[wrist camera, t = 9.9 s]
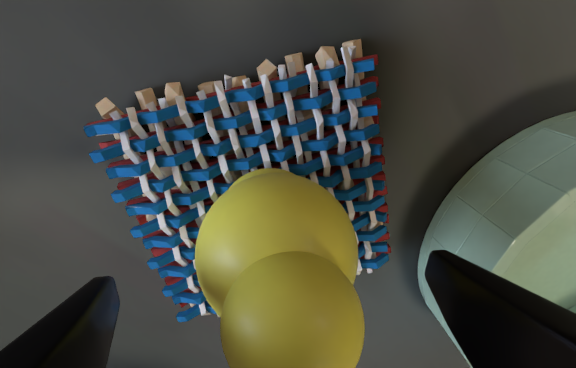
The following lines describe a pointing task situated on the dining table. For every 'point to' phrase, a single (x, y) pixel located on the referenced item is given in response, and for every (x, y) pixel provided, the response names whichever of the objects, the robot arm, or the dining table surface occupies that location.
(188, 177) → the woven mat
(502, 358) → the robot arm
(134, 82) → the dining table surface
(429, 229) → the pan
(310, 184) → the pear
